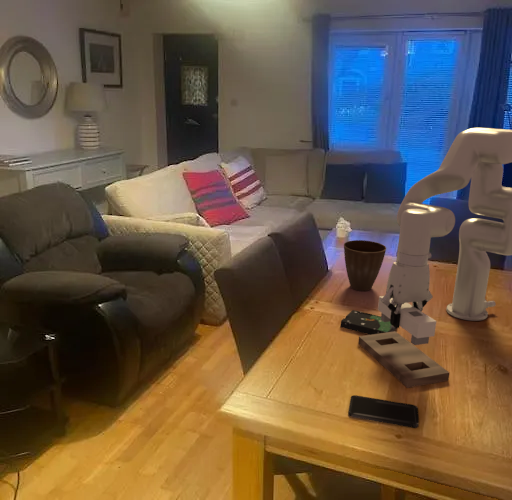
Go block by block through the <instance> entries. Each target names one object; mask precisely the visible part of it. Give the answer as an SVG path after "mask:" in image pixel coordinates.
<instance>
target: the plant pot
mask: <svg viewBox="0 0 512 500" xmlns="http://www.w3.org/2000/svg"><path fill="white" fill-rule="evenodd" d="M386 251H387V247H386V245H384V244H382V243H380V242H377V241H376V242H375V241H372V240H363V239H362V240H361V239H356V240H354V239H353V240H349V241H345V242H344V243H343V254H344V263H345V269H346V275H347V278H348V282H349V285H350V288H351V289H352V290H355V291H359V292H366V291H367V292H368V291H370V290H371V289H372V288H373V286H374V284H375V283H376V279H377V277H378V275H379V272H380V270H381V267H382V264H383V261H384V259H385V255H386Z"/></svg>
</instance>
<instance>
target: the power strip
mask: <svg viewBox="0 0 512 500" xmlns="http://www.w3.org/2000/svg"><path fill="white" fill-rule="evenodd" d="M384 296H385V295H379V297H378V305H377V311H378V312H380V313H381V315H380V316H381V320H382V321H383V322H390V317H391V310H390V309H389V308H388V307H387V306H386V305H385V304H384V303H383V302H382V301H381V300H382V298H383V297H384ZM392 299H393V298H391V299H390V303H391V302H392ZM396 305H397V303H396ZM395 307H396V306H395ZM399 314H400V315H401V316H400V324H399V327H401V329H403V330H404V331H406V332H408V333H409V334H410V335H411V336H410V337H411V338H410V343H411V344H413V345H414V346H419V345H427V344H429V340H430V338H431V337H435V334H436V327H437V320H436V319H434V318H433V317H431V316H429V315H427V314H426V313H425V312H423V311H420V310H418V309H417V308H415V307H413V305H412V304H410V302H409V303H402V306H401V309H400V311H399Z"/></svg>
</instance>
